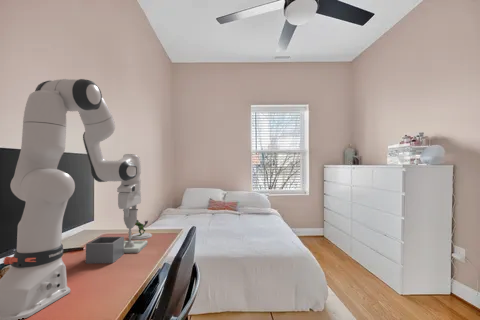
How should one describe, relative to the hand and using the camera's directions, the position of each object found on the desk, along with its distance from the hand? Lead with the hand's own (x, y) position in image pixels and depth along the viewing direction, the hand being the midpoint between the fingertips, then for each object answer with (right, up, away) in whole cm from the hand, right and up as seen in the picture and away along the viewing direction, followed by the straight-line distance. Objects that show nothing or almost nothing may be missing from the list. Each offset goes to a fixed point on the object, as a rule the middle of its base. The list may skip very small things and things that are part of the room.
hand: (130, 215), depth 126 cm
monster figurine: (-3, -17, +21) cm, 28 cm away
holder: (-4, -16, -15) cm, 22 cm away
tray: (0, -16, -1) cm, 16 cm away
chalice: (0, -15, -1) cm, 15 cm away
